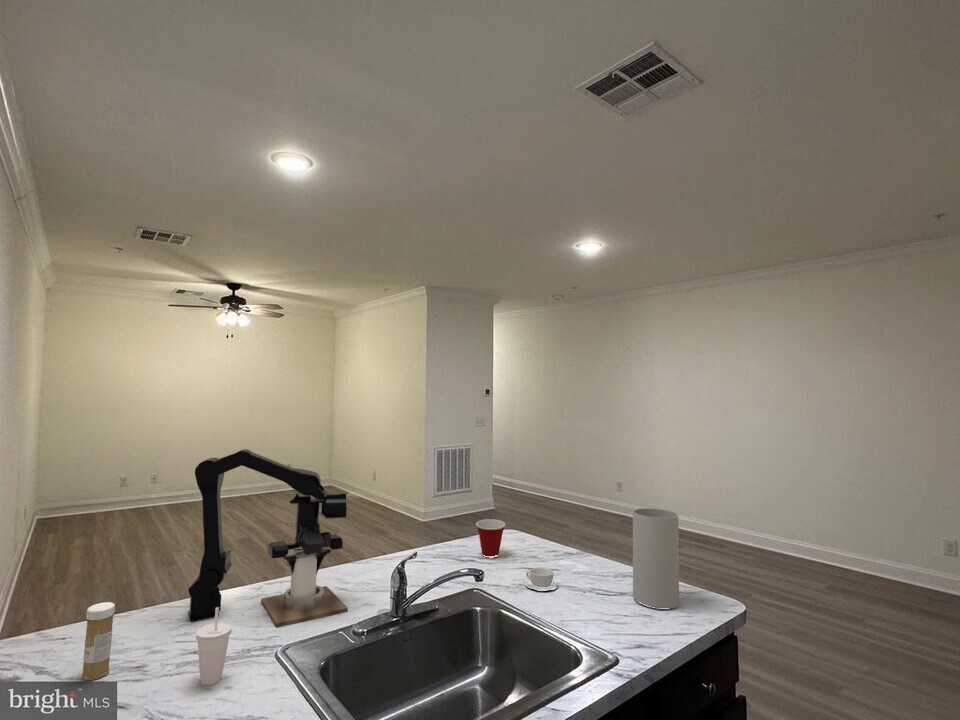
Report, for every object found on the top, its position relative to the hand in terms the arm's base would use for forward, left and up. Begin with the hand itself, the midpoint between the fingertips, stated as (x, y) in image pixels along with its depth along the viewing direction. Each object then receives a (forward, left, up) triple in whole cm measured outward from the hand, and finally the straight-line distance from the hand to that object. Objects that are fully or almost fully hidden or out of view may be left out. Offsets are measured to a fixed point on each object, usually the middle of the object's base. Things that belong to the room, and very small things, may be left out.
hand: (304, 578), depth 136 cm
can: (0, 0, -6) cm, 6 cm away
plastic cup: (+69, +10, -8) cm, 70 cm away
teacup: (+66, -22, -8) cm, 70 cm away
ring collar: (0, 0, -8) cm, 8 cm away
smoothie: (-25, -26, -8) cm, 37 cm away
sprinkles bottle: (-44, -12, -8) cm, 46 cm away
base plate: (0, 0, -8) cm, 8 cm away
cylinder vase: (+86, -48, -8) cm, 99 cm away
